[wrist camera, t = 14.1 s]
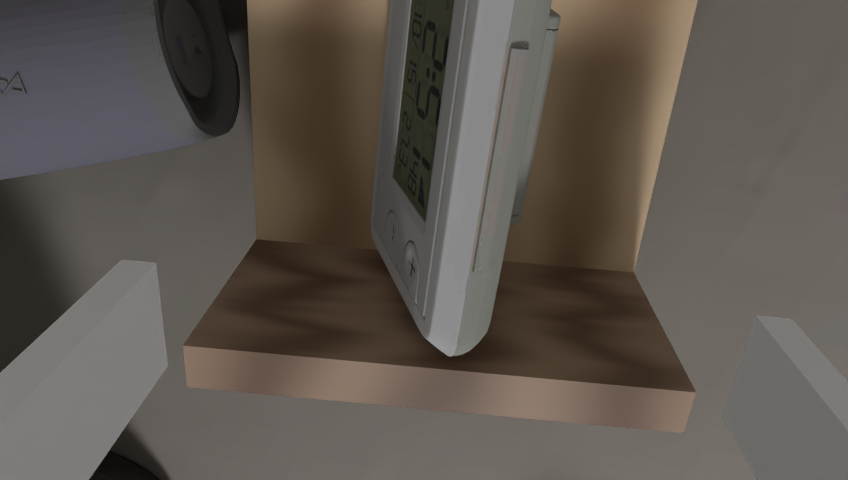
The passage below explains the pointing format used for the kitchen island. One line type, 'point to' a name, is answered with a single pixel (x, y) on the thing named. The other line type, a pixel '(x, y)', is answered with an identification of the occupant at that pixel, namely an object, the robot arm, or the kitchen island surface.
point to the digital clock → (457, 152)
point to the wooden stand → (525, 247)
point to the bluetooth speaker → (110, 80)
